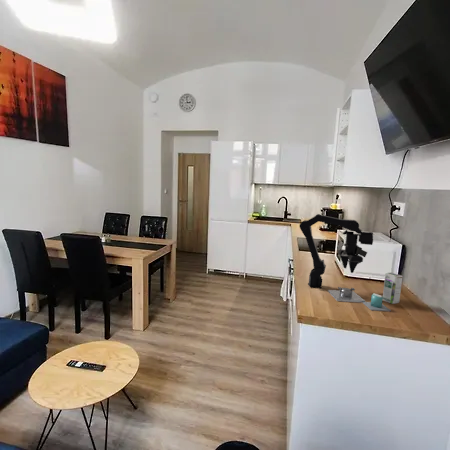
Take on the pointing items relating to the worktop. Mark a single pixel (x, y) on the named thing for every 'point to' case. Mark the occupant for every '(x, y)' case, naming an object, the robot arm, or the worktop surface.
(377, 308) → the coaster
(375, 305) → the teal cylinder
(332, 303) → the worktop surface
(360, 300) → the grey square plate
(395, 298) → the syrup box
